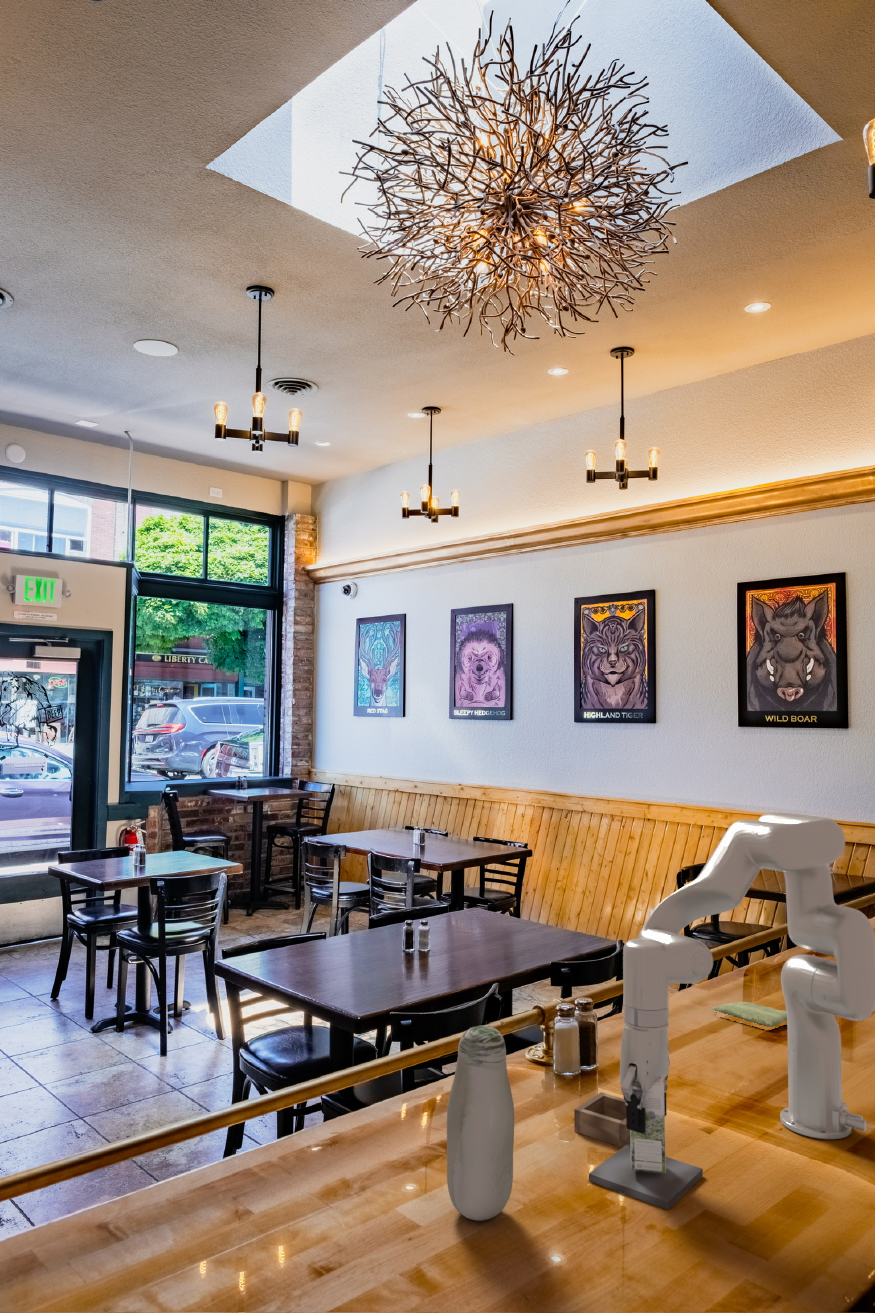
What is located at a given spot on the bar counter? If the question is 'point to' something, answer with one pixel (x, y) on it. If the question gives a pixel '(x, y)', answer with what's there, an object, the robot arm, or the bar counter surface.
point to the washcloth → (753, 1013)
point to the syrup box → (650, 1133)
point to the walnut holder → (603, 1119)
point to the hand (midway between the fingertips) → (646, 1122)
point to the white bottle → (480, 1126)
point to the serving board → (646, 1179)
